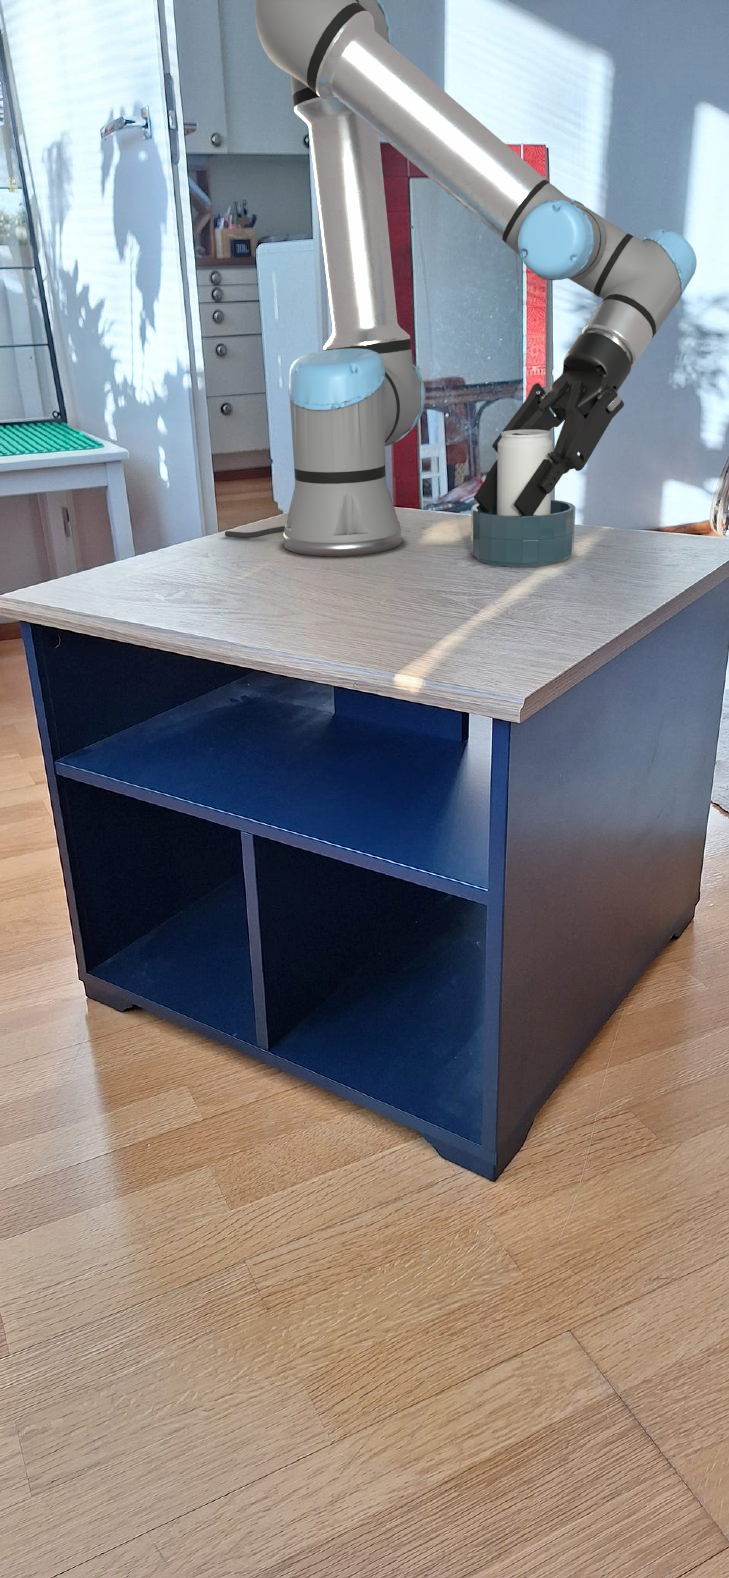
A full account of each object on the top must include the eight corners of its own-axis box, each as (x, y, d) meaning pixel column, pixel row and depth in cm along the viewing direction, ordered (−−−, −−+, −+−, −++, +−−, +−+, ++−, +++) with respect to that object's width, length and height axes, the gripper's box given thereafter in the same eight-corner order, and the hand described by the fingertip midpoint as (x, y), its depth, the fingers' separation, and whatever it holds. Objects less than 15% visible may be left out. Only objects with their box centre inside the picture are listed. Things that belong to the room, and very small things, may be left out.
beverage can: (486, 536, 134) (486, 433, 129) (515, 527, 139) (517, 427, 134) (530, 542, 130) (533, 435, 125) (560, 533, 135) (563, 429, 130)
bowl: (453, 561, 134) (453, 511, 132) (501, 542, 143) (502, 495, 141) (544, 572, 128) (546, 519, 125) (589, 552, 137) (591, 502, 134)
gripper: (683, 377, 128) (575, 539, 126) (563, 371, 143) (465, 517, 141) (654, 329, 123) (542, 498, 121) (534, 328, 138) (432, 479, 136)
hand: (501, 508), depth 131 cm, fingers closed on beverage can, 6 cm apart
